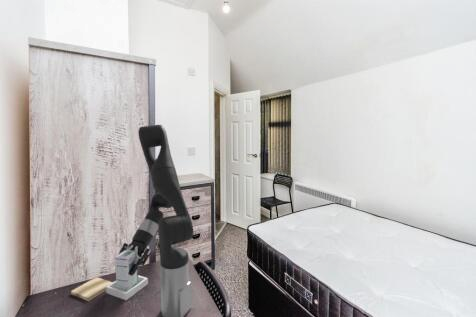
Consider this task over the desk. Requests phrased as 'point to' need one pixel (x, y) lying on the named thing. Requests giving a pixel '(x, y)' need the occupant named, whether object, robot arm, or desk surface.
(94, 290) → the oak board
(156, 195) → the robot arm
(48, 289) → the desk surface
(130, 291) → the white square frame
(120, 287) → the syrup box
